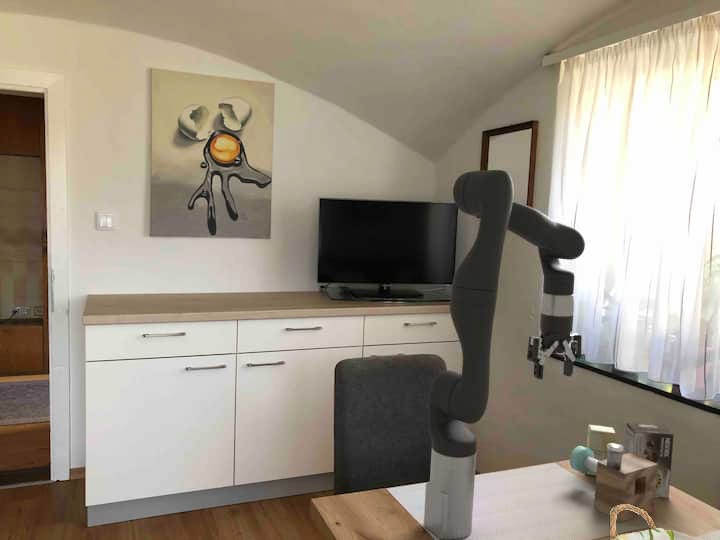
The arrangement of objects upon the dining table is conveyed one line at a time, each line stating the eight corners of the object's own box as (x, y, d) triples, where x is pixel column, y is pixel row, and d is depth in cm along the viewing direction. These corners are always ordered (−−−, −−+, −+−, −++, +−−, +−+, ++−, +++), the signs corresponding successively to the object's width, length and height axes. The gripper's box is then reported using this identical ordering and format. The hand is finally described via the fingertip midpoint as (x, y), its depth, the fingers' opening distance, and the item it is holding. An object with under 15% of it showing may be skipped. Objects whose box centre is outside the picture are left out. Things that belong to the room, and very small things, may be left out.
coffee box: (658, 486, 147) (664, 424, 145) (669, 498, 140) (675, 434, 139) (621, 483, 147) (626, 421, 146) (630, 495, 141) (635, 431, 140)
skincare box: (586, 474, 152) (589, 429, 151) (583, 468, 156) (587, 423, 155) (612, 478, 150) (616, 432, 149) (609, 471, 154) (613, 426, 153)
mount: (620, 521, 128) (624, 473, 127) (593, 507, 134) (597, 461, 133) (653, 509, 134) (658, 464, 133) (626, 496, 140) (630, 452, 139)
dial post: (615, 471, 128) (617, 450, 128) (602, 465, 131) (603, 444, 131) (625, 468, 130) (627, 447, 130) (612, 462, 133) (613, 442, 133)
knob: (616, 494, 132) (619, 469, 132) (568, 471, 144) (570, 447, 143) (633, 489, 135) (635, 464, 135) (585, 466, 147) (586, 444, 146)
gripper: (542, 316, 134) (538, 384, 136) (591, 313, 139) (587, 378, 141) (522, 310, 141) (519, 375, 143) (570, 307, 146) (566, 370, 148)
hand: (553, 377), depth 142 cm, fingers open, 8 cm apart
